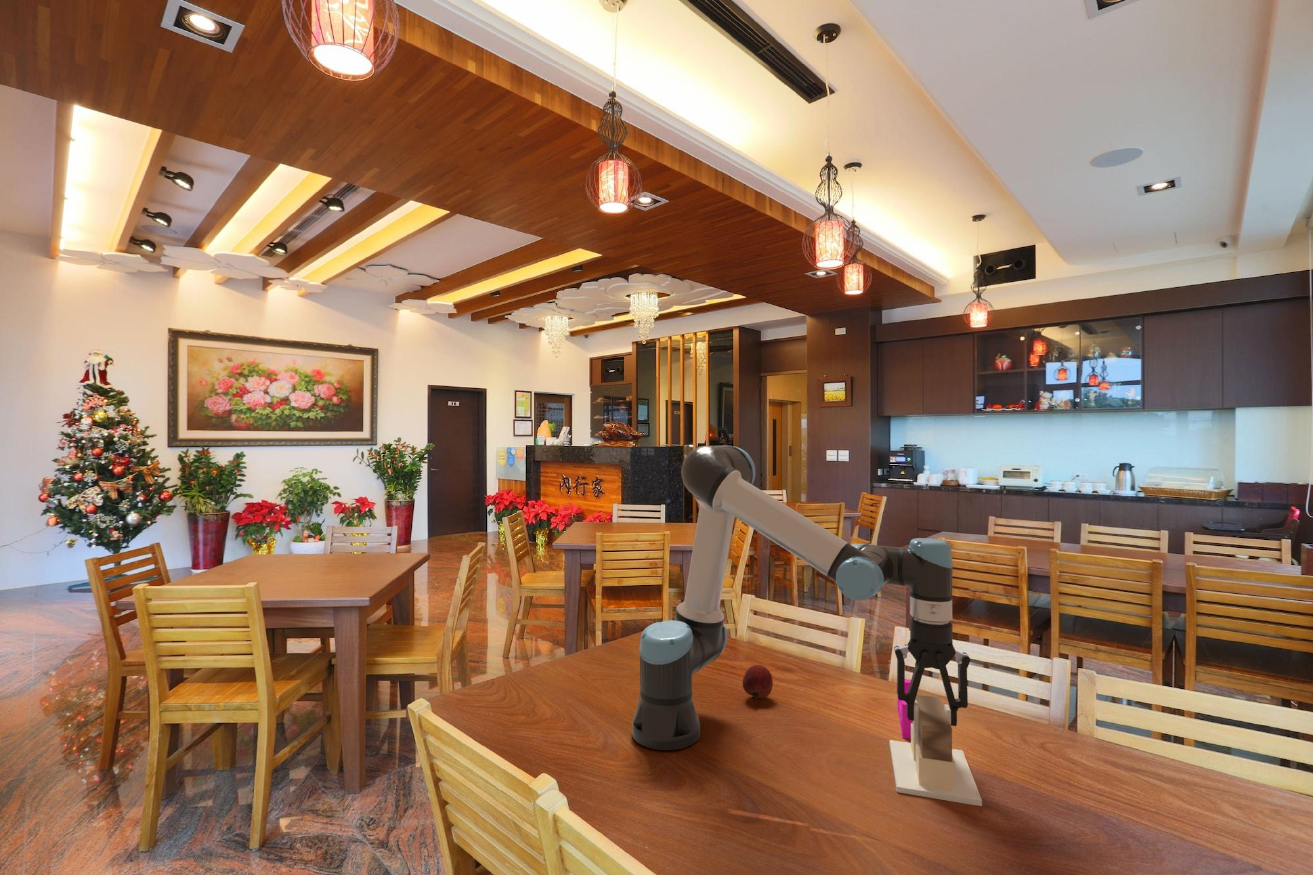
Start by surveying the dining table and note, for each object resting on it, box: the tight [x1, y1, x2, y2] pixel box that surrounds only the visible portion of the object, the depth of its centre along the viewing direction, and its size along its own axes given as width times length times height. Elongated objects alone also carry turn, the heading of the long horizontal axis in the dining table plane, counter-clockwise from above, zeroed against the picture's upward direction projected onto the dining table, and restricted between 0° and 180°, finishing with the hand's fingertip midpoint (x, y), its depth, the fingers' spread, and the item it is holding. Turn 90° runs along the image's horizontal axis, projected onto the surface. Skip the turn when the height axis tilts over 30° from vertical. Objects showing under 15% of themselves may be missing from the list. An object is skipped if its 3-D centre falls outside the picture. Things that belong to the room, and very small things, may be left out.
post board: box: [889, 723, 983, 807], centre depth 115 cm, size 14×18×6 cm
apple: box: [742, 664, 774, 699], centre depth 149 cm, size 7×8×8 cm
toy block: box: [896, 678, 913, 740], centre depth 135 cm, size 15×6×8 cm, turn 162°
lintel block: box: [915, 694, 953, 762], centre depth 115 cm, size 5×14×6 cm, turn 162°
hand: (931, 738), depth 115 cm, fingers closed on lintel block, 5 cm apart
